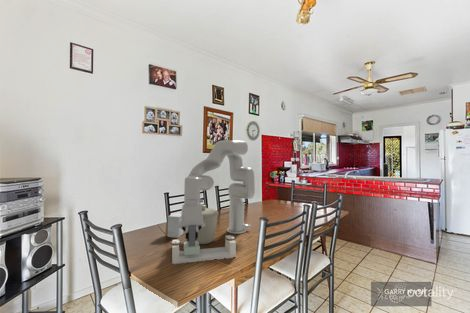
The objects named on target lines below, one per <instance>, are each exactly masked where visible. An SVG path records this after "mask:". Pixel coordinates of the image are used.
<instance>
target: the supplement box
mask: <svg viewBox="0 0 470 313" xmlns="http://www.w3.org/2000/svg"><path fill="white" fill-rule="evenodd" d="M180 221H181V213H171V214H170V215H168V216H167V237H168V238H174V239H175V238H178V239H179V238H180V237H182V235H183V234H184V230H182V229H180V228H178V225H179V223H180Z"/></svg>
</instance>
